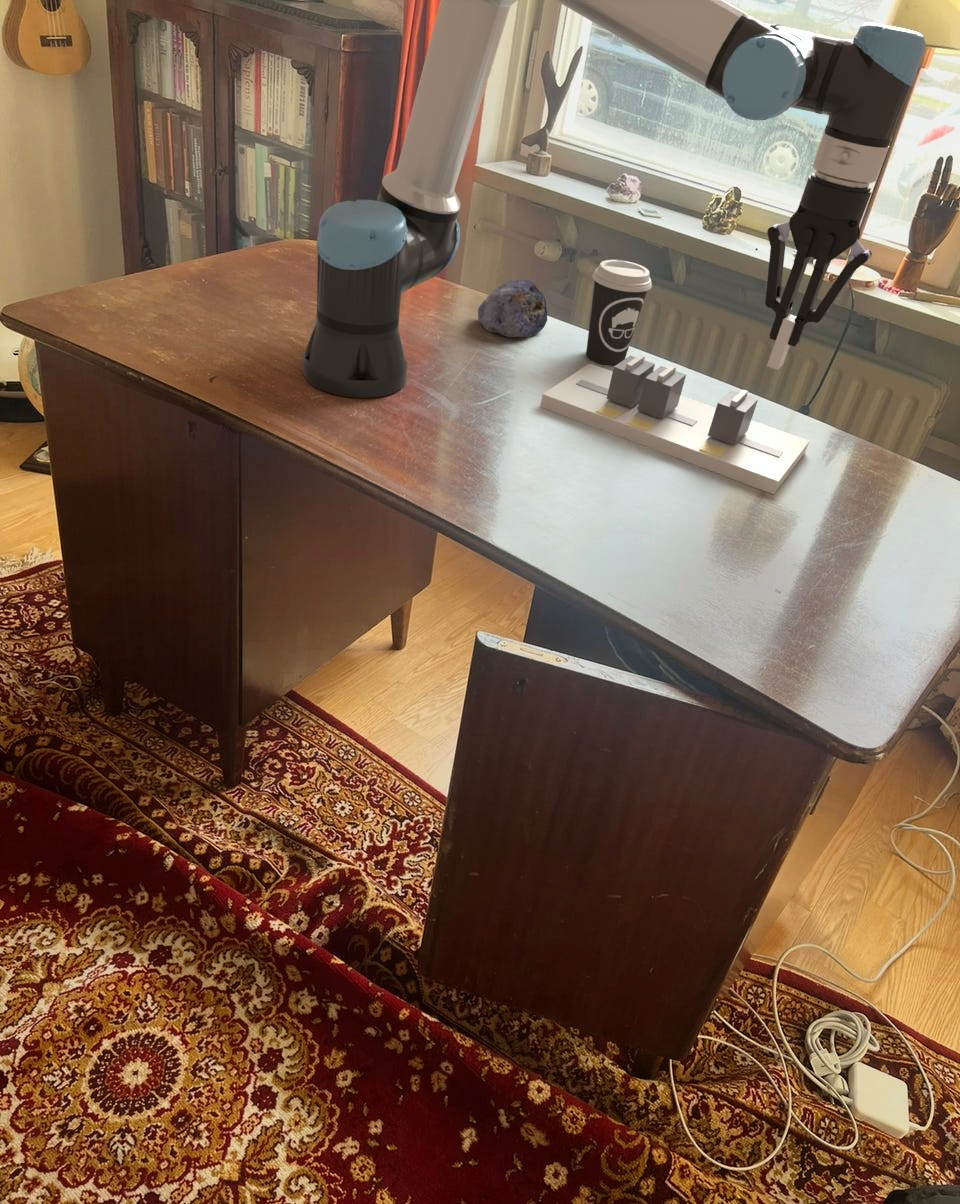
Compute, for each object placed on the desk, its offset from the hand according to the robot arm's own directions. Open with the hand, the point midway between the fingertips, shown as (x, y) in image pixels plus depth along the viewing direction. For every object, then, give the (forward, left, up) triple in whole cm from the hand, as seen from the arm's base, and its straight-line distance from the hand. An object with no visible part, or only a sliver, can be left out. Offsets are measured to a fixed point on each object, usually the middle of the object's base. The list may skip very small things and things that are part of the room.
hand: (775, 365), depth 124 cm
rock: (-48, +15, -14) cm, 52 cm away
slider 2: (-14, 0, -11) cm, 18 cm away
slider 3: (-3, 0, -11) cm, 12 cm away
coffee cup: (-30, +17, -14) cm, 37 cm away
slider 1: (-19, 0, -11) cm, 22 cm away
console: (-11, 0, -14) cm, 18 cm away
